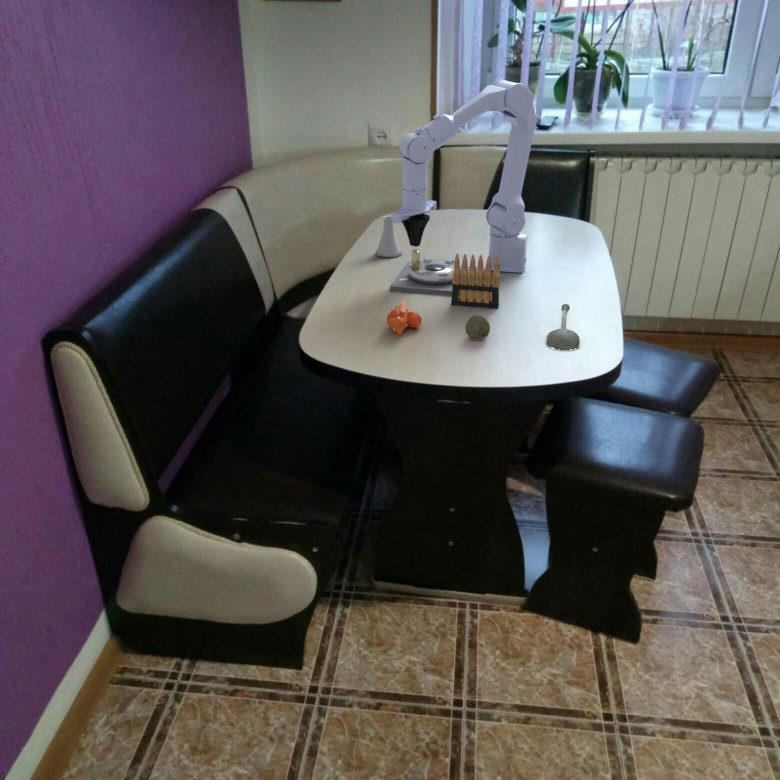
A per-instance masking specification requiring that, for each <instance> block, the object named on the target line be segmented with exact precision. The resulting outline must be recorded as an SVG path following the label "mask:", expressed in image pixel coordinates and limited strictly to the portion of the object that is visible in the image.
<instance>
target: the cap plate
mask: <svg viewBox="0 0 780 780" xmlns="http://www.w3.org/2000/svg"><path fill="white" fill-rule="evenodd" d="M411 263H412V261H407V262H406V263H405V265H404V266H403V268H402V269H401V270H400V272H399V274H398V275H397V276H396V278H395V279H394V280H393V282H392V283H391V285H390V287H389V288H390V291H395V292H396V291H397V292H406V293H407V292H408V293H409V292H410V293H417V294H418V293H419V294H420V293H421V294H430V295H431V294H433V295H446V296H452V286H453V282H452V283H448V284H438V285H433V284H423V283H419V282H416V281H414V280H412V279H410V277H409V266H410V264H411ZM460 266H461V267H462V264H460ZM467 267H468V275H469V269H470V265H467ZM477 268H478V266H475V271H476V272H477ZM460 280H461V278H460ZM467 292H468V290H467Z"/></svg>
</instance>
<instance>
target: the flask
mask: <svg viewBox="0 0 780 780" xmlns="http://www.w3.org/2000/svg"><path fill="white" fill-rule="evenodd" d="M382 220H383V230H382V233H381V236H380V240H379V243H378V246H377V248H376V251H375V253H376V256H377V257H383V258H395V257H396V258H398V257H399V256H401V255H402V254H403V251H402V248H401V246H400V245H401V244H400V243H399V240H398V237H397V234H396V230H395V226H394V225H395V224H394V223H395V222H392V216H391V215H385V216H382Z"/></svg>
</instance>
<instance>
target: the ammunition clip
mask: <svg viewBox="0 0 780 780" xmlns="http://www.w3.org/2000/svg"><path fill="white" fill-rule="evenodd" d="M482 255H483V254H480V256H479V257H478V260H477V261H478V262H477V271H475V267H476V257H475V255H474V254H472V255H471V257H470V261H469V266H470V269H469V275H468V267H467V266H468V257H467V256H468V255H467V254H466V253H464V255H463V257H462V260H461V261H462V262H460V257H459V256H460V255H459V253H456V255H455V257H454V270H453V286H452V295H451V298H450V299H451V300H450V306H452V307H465V306H466V307H468V308H476V309H477V308H479V309H480V308H481V309H490V310H491V309H492V310H493V309H494V310H498V309H499V307H500V283H501V282H500V280H501V279H500V278H501V273H500V272H501V271H500V269H499V267H500V264H499V257H498V256H497V257H496V259H495V263H494V271H493V272H492V271H491V258H490V255H489V254H488V256H487V259H486V262H485V263H486V264H485V267H486V270H485V269H484V258H483V256H482ZM460 263H461V264H460ZM460 265H462V270H461V280H460ZM484 270H485V271H484ZM467 290H468V291H467Z"/></svg>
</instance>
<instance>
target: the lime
mask: <svg viewBox="0 0 780 780" xmlns="http://www.w3.org/2000/svg"><path fill="white" fill-rule="evenodd" d="M464 329H465V333H466V335H467V337H468V338H469V339H470V340H472V341H481V340H482V341H483V340H484V339H486V338H487V337H488V336H489V334H490V331H491V324H490V322H489V320H488V319H487V318H486V317H485V316H483V315H480V314H476V315H475V314H474V315H472V316H471V317H469V318H468V319H467V322H466V323H465V326H464Z"/></svg>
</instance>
